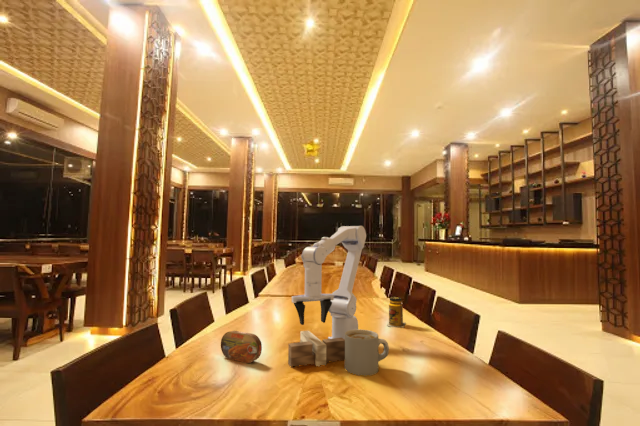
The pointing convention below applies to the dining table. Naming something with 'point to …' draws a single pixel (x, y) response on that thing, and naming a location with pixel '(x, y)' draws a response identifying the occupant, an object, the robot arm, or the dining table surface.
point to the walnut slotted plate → (304, 355)
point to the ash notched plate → (315, 347)
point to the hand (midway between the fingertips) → (312, 323)
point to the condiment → (396, 312)
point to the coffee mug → (363, 352)
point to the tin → (241, 346)
